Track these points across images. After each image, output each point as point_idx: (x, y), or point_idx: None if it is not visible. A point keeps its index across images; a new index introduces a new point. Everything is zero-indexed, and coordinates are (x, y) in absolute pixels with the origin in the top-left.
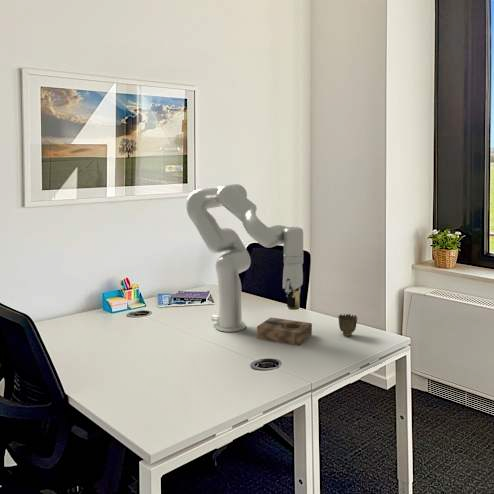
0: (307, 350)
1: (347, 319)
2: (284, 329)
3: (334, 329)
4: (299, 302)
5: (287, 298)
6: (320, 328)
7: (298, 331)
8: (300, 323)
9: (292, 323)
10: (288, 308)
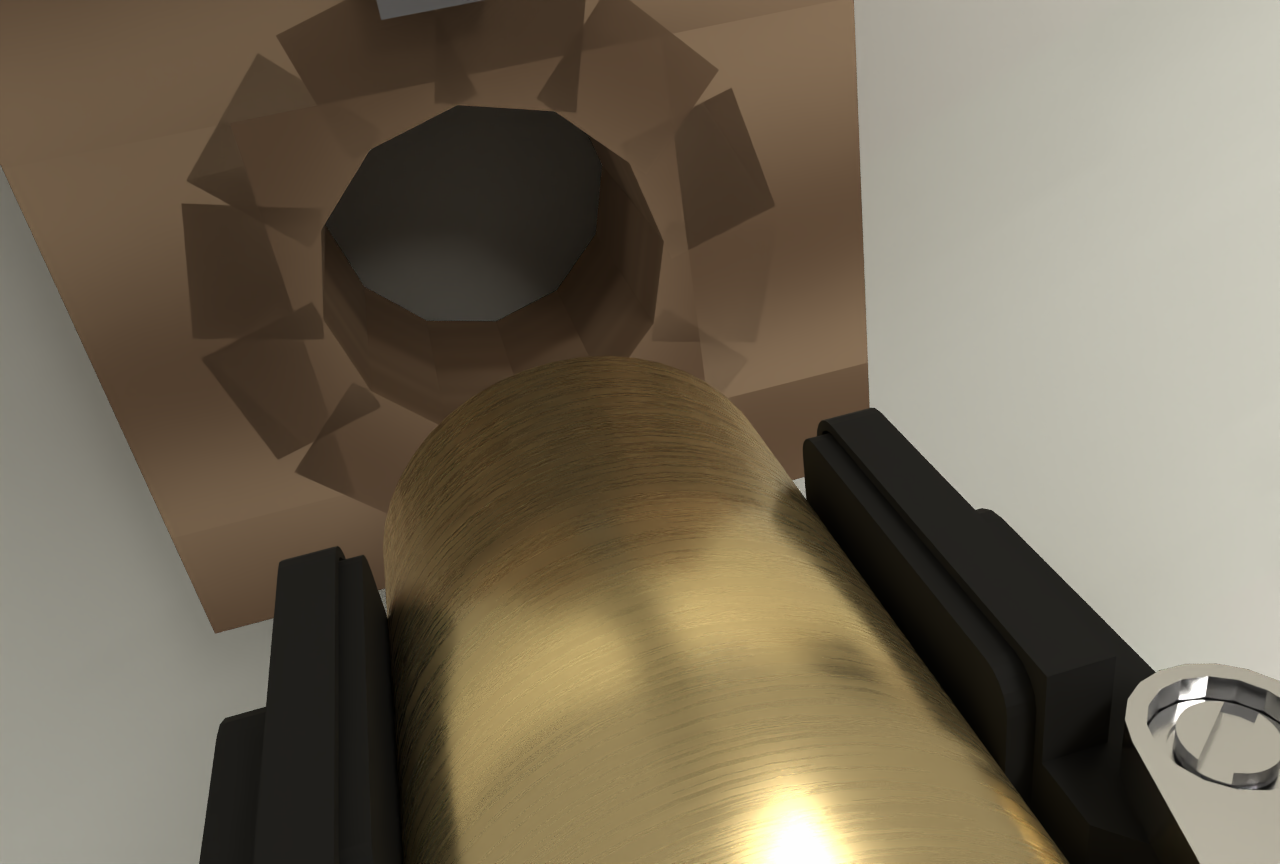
0: (153, 677)
1: None
2: (143, 276)
3: (1155, 452)
4: None
5: (261, 854)
6: (1133, 279)
7: (272, 565)
8: (744, 306)
9: (650, 165)
10: (416, 455)
